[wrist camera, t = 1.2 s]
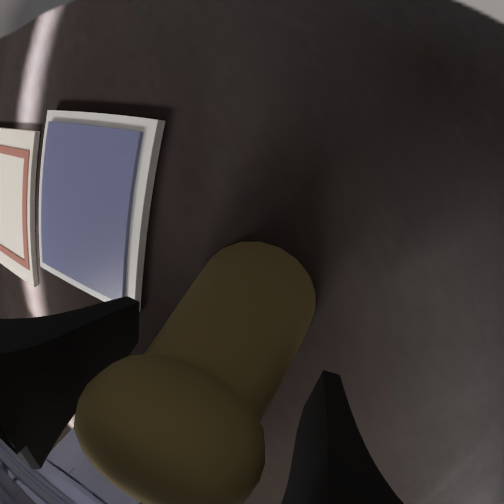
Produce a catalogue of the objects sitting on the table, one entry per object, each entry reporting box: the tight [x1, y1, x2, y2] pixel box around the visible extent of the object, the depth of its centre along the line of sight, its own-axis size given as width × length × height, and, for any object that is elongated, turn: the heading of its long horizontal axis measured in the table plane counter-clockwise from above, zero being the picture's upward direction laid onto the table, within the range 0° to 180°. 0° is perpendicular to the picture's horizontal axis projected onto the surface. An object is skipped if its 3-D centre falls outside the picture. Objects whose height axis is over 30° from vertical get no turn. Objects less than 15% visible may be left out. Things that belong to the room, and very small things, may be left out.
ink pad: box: [39, 110, 165, 312], centre depth 16 cm, size 11×9×1 cm
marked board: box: [0, 128, 40, 287], centre depth 19 cm, size 12×10×1 cm
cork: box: [74, 242, 316, 504], centre depth 10 cm, size 6×6×11 cm
